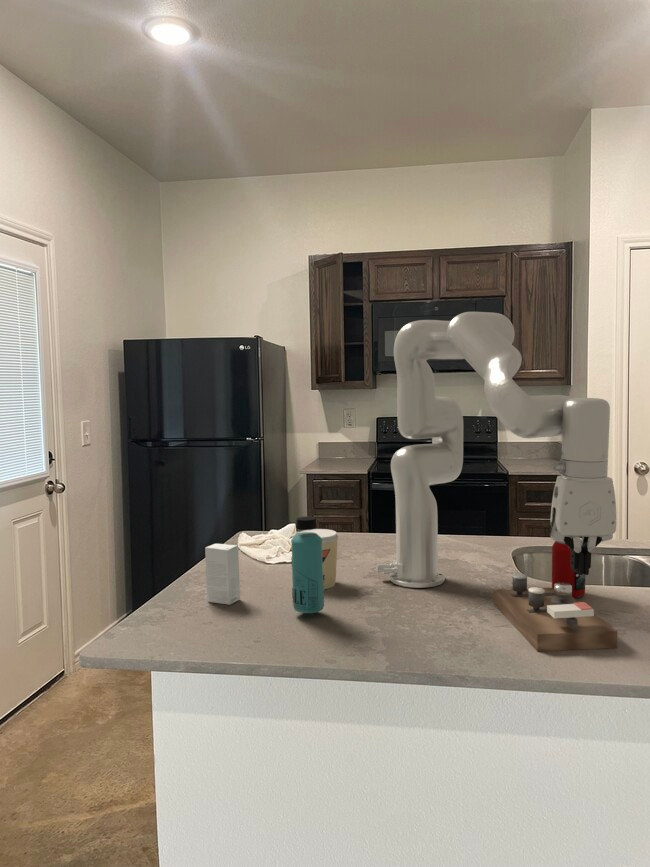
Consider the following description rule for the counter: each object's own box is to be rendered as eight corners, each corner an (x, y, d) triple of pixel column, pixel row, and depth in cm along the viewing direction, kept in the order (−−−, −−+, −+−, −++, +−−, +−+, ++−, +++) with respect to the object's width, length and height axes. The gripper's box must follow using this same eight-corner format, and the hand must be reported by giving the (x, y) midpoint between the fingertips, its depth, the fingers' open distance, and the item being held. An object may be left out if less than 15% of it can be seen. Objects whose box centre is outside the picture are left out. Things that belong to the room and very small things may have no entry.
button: (558, 598, 128) (558, 587, 127) (551, 592, 131) (551, 582, 131) (574, 597, 128) (574, 587, 128) (567, 592, 131) (567, 582, 131)
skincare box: (240, 599, 144) (239, 545, 143) (230, 605, 140) (228, 549, 139) (217, 596, 147) (215, 542, 146) (206, 602, 143) (204, 547, 142)
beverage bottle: (329, 611, 135) (327, 514, 134) (318, 622, 129) (316, 521, 128) (299, 608, 138) (297, 513, 136) (287, 619, 131) (284, 519, 130)
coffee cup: (291, 588, 151) (290, 536, 150) (308, 576, 160) (307, 527, 159) (330, 592, 147) (328, 539, 146) (344, 580, 156) (343, 530, 155)
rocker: (554, 618, 115) (554, 610, 115) (547, 612, 118) (547, 604, 118) (593, 616, 115) (593, 608, 115) (585, 609, 118) (585, 602, 118)
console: (537, 651, 114) (537, 624, 113) (493, 604, 138) (493, 581, 137) (617, 647, 114) (617, 620, 114) (560, 601, 138) (560, 578, 138)
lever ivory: (531, 611, 123) (531, 592, 123) (526, 606, 126) (526, 587, 126) (547, 611, 123) (547, 591, 123) (541, 606, 126) (541, 587, 126)
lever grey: (515, 596, 132) (515, 578, 132) (510, 591, 135) (510, 573, 135) (529, 595, 132) (529, 577, 132) (524, 591, 135) (524, 573, 135)
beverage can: (587, 600, 138) (588, 544, 138) (554, 599, 140) (554, 543, 139) (582, 590, 145) (582, 536, 144) (549, 589, 146) (550, 535, 145)
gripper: (550, 473, 111) (546, 580, 113) (637, 472, 111) (632, 578, 113) (533, 466, 118) (530, 567, 120) (615, 465, 119) (611, 565, 121)
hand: (580, 572), depth 117 cm, fingers closed
